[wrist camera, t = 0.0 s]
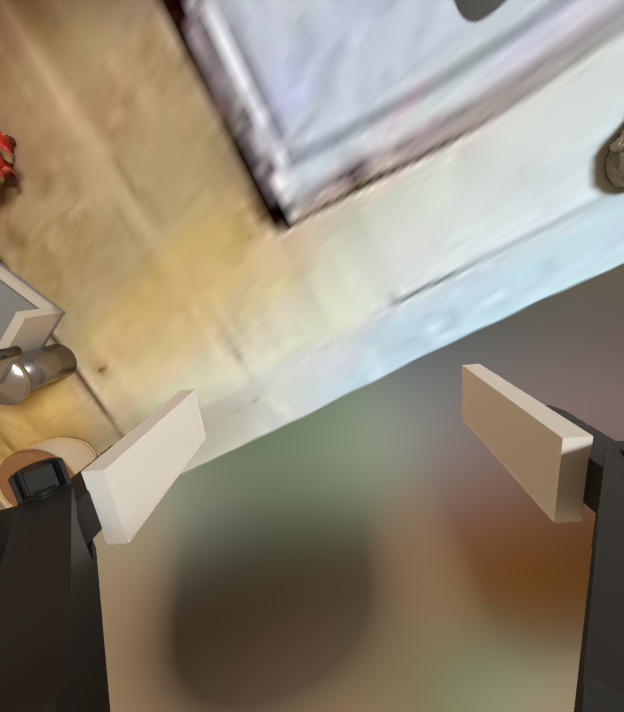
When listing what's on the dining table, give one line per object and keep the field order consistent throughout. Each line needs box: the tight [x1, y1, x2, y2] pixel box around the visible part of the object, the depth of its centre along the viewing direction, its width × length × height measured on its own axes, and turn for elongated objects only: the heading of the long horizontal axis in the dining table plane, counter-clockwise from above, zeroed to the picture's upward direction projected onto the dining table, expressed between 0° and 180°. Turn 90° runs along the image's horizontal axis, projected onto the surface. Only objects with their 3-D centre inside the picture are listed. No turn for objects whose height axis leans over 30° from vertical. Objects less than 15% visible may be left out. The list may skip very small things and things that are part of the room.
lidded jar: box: [0, 437, 97, 507], centre depth 46 cm, size 11×11×9 cm
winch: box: [0, 344, 77, 405], centre depth 40 cm, size 6×9×12 cm
